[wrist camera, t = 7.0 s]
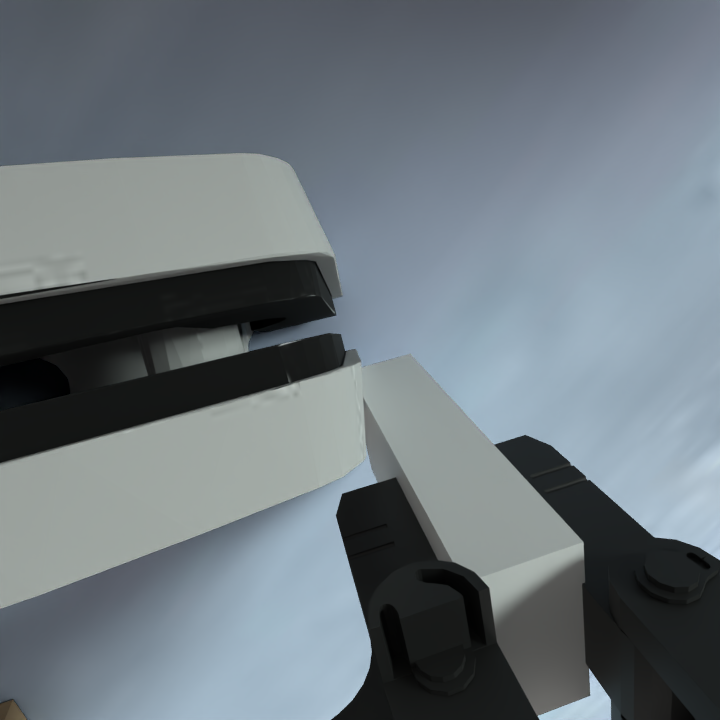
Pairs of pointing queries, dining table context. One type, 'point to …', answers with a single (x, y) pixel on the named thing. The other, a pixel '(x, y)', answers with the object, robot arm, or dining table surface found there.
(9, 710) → the brown flat wooden slab
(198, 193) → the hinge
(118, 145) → the dining table surface
